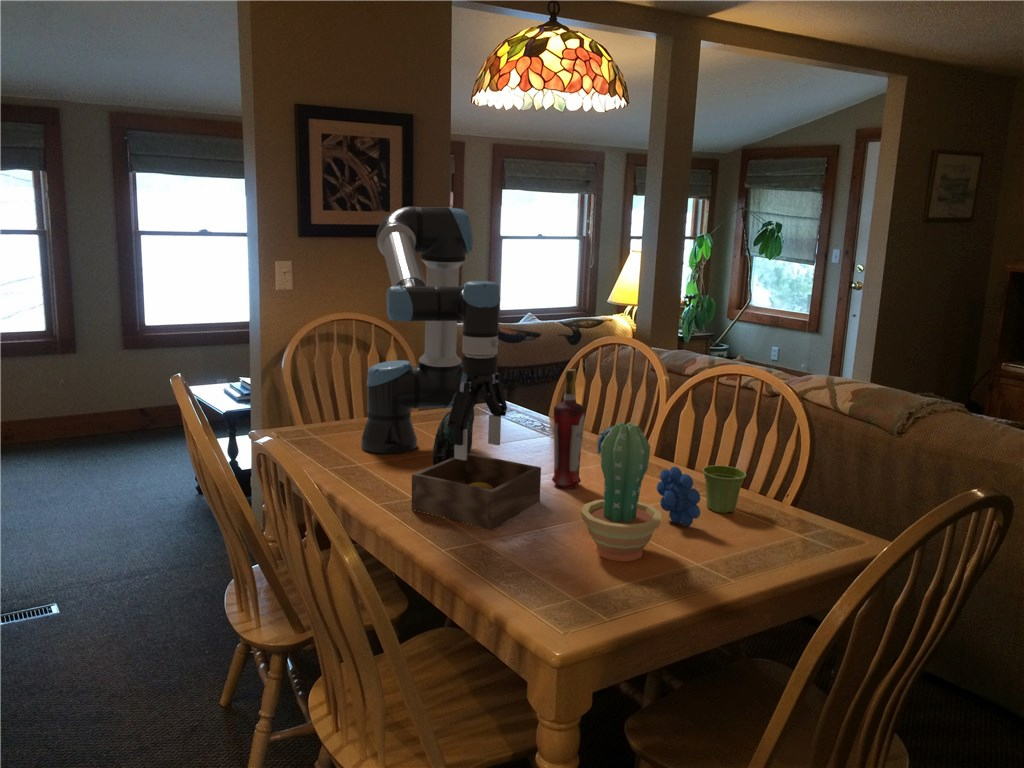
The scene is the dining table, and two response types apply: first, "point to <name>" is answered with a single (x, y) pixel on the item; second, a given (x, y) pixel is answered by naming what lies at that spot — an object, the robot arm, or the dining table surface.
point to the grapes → (678, 496)
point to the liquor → (568, 435)
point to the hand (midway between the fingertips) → (477, 451)
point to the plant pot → (722, 487)
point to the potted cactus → (622, 496)
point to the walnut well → (476, 490)
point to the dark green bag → (449, 439)
